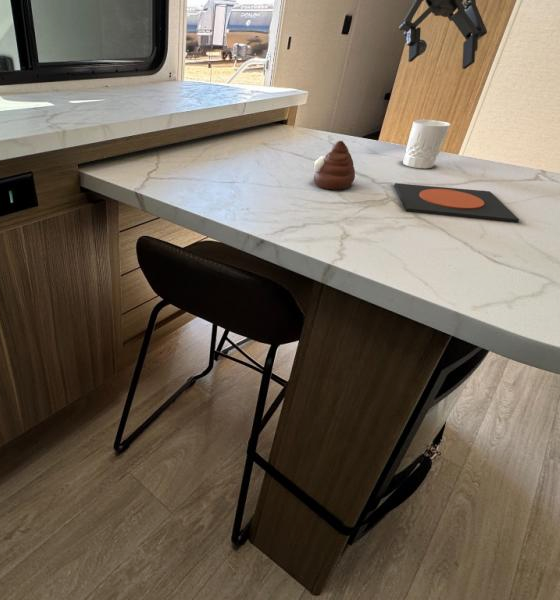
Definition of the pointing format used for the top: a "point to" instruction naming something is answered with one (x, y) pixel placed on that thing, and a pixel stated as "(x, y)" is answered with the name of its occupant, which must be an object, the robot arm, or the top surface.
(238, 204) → the top surface
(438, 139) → the white cup
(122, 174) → the top surface
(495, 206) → the placemat
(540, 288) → the top surface
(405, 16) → the robot arm
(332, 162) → the poop emoji
